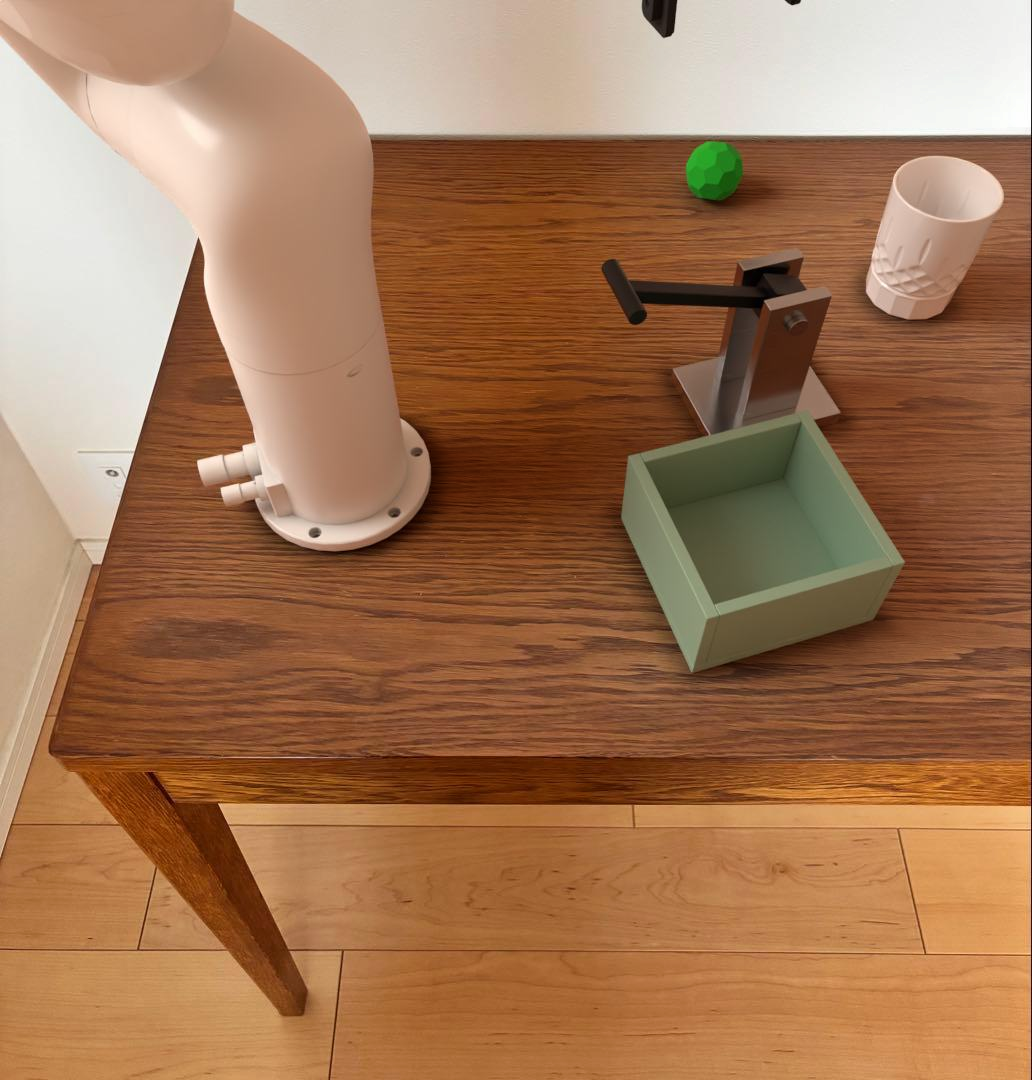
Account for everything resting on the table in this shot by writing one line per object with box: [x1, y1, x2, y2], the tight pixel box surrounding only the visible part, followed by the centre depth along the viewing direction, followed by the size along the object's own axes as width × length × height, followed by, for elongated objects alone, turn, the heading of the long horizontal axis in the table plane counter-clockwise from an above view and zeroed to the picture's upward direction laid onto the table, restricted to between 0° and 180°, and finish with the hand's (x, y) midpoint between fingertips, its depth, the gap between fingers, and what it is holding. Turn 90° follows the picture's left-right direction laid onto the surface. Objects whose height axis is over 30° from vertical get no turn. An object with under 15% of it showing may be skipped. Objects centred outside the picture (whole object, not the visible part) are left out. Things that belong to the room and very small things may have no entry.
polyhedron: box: [685, 140, 744, 201], centre depth 87 cm, size 5×5×5 cm
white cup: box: [865, 155, 1005, 320], centre depth 77 cm, size 8×8×10 cm
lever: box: [600, 258, 808, 326], centre depth 64 cm, size 14×5×2 cm, turn 107°
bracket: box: [670, 247, 841, 437], centre depth 69 cm, size 10×8×12 cm
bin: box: [620, 411, 906, 674], centre depth 63 cm, size 13×13×7 cm
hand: (722, 11), depth 68 cm, fingers open, 9 cm apart
